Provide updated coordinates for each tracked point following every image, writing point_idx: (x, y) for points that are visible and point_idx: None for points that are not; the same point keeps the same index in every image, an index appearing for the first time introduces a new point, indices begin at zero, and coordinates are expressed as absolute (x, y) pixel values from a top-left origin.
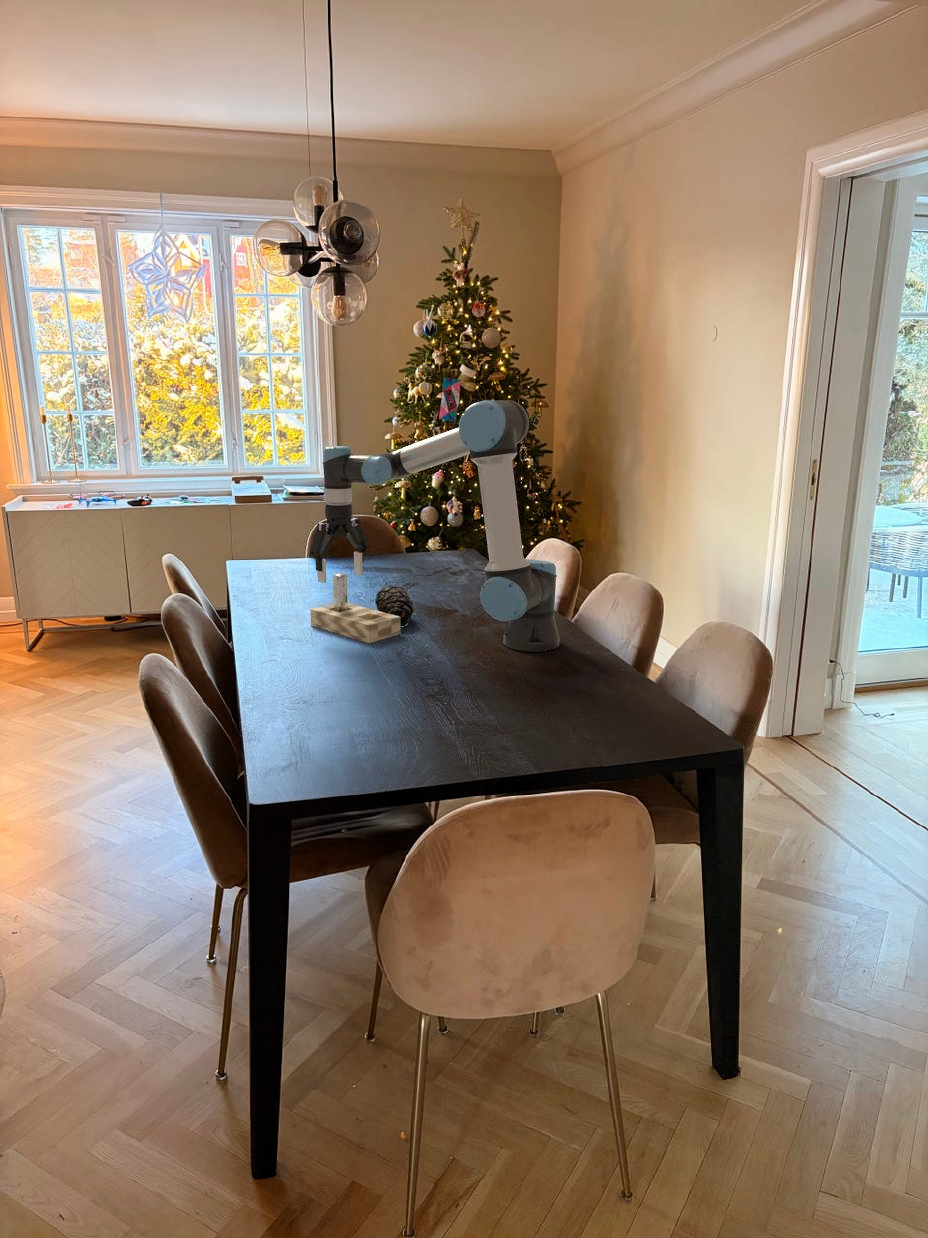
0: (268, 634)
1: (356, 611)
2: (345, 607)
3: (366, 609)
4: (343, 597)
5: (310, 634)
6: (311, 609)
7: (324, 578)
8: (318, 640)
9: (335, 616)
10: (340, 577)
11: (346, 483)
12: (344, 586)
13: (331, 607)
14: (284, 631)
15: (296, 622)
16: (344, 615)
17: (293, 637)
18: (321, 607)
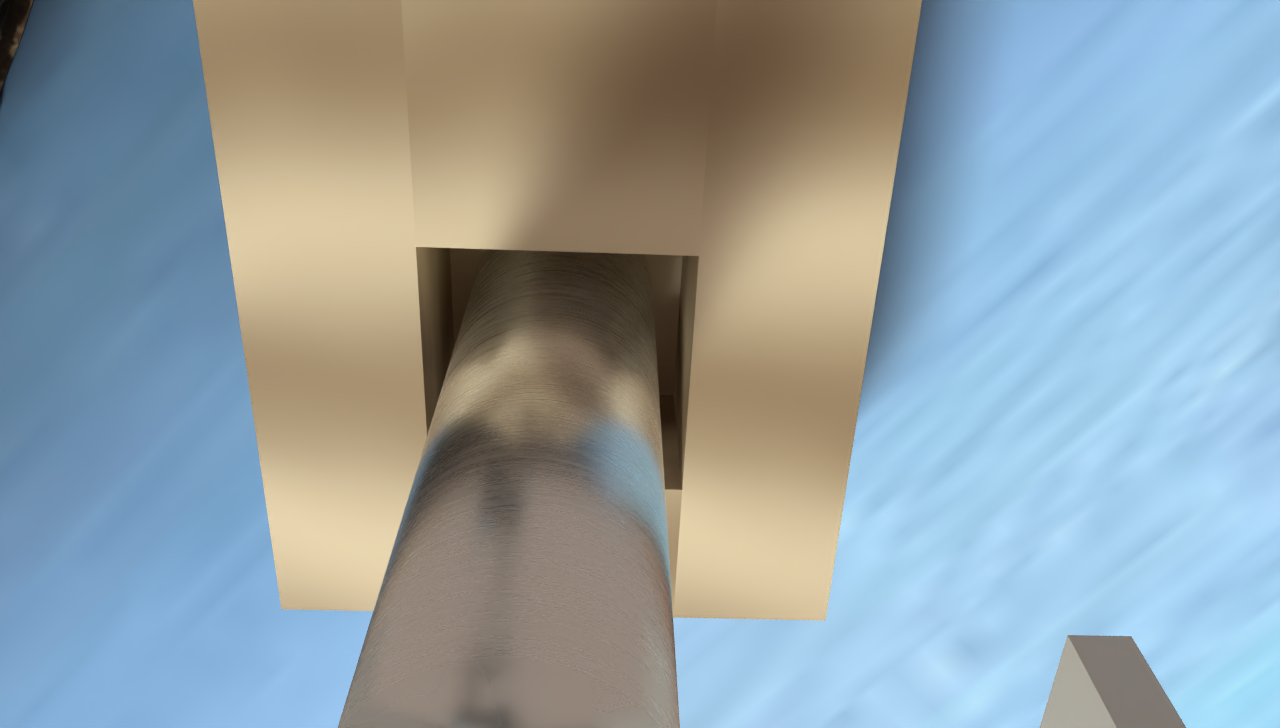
0: (1271, 558)
1: (480, 106)
2: (552, 295)
3: (274, 75)
4: (577, 384)
5: (1050, 275)
6: (826, 603)
7: (1172, 723)
8: (1211, 20)
9: (896, 150)
10: (623, 667)
11: None
12: (539, 494)
13: None
14: (1103, 531)
15: (785, 661)
16: (786, 72)
17: (1244, 321)
18: (676, 587)
